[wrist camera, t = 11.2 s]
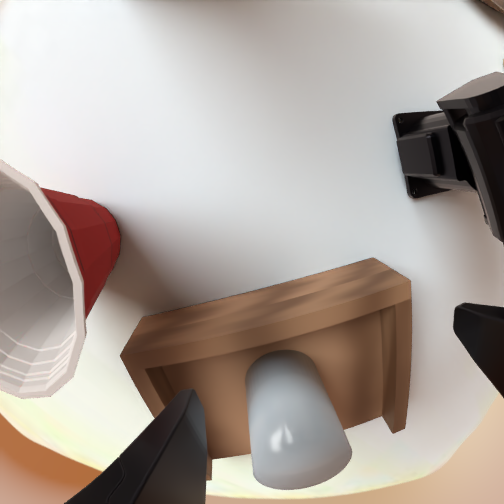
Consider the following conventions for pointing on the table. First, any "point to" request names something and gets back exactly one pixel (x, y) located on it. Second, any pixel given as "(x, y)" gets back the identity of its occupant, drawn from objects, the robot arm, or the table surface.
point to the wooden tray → (283, 338)
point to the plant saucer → (495, 4)
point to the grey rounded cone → (292, 423)
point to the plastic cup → (48, 281)
